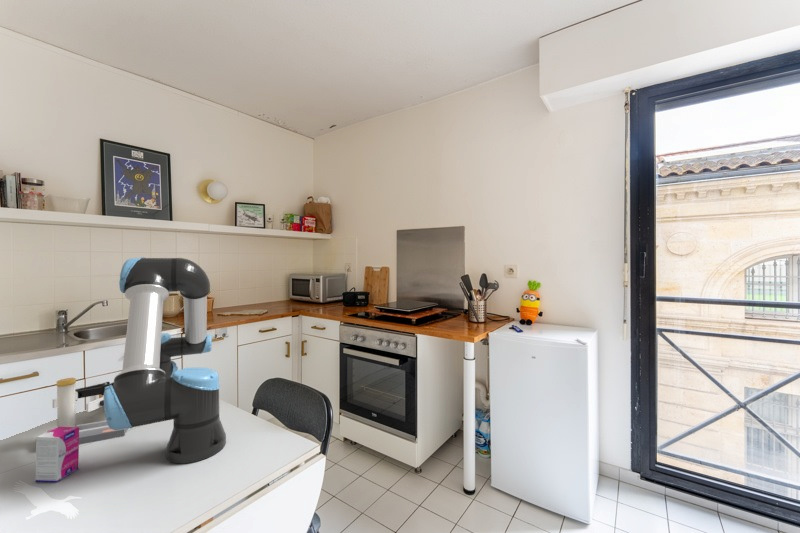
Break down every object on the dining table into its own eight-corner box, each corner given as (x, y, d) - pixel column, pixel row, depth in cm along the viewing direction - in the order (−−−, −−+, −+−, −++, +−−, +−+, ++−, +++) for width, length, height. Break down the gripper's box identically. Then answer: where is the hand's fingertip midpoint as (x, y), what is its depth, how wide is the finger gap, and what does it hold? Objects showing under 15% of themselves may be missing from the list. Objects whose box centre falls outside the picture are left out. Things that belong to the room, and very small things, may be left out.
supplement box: (58, 483, 84) (57, 437, 84) (34, 482, 84) (33, 437, 84) (80, 468, 90) (79, 426, 90) (58, 468, 90) (57, 426, 90)
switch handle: (78, 427, 107) (77, 377, 107) (73, 433, 103) (72, 381, 103) (60, 430, 105) (59, 379, 105) (54, 437, 101) (53, 383, 101)
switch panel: (131, 422, 116) (131, 413, 116) (124, 435, 107) (124, 426, 107) (52, 436, 106) (52, 426, 106) (36, 452, 98) (36, 441, 98)
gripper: (164, 394, 124) (101, 421, 103) (109, 389, 129) (40, 413, 108) (163, 374, 124) (101, 397, 103) (109, 369, 129) (39, 390, 108)
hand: (69, 405), depth 105 cm, fingers open, 13 cm apart
